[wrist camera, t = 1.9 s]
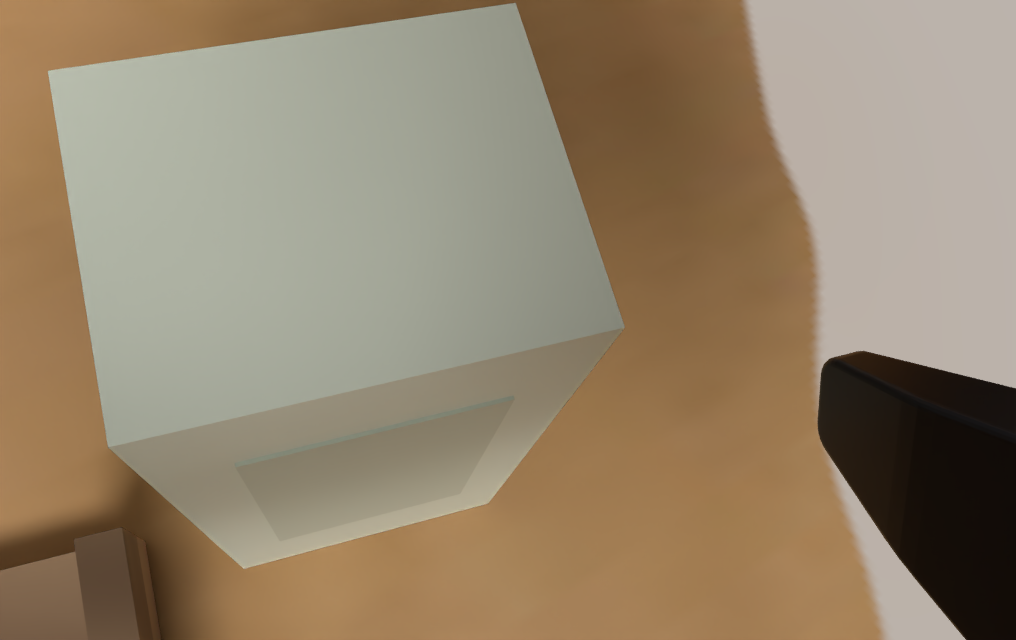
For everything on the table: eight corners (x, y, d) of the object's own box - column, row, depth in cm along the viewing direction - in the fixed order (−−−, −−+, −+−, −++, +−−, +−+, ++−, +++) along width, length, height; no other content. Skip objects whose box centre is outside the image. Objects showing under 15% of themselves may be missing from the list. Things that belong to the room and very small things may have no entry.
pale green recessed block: (488, 506, 20) (626, 332, 10) (244, 571, 19) (108, 452, 9) (438, 324, 21) (514, -2, 11) (205, 375, 20) (47, 66, 10)
